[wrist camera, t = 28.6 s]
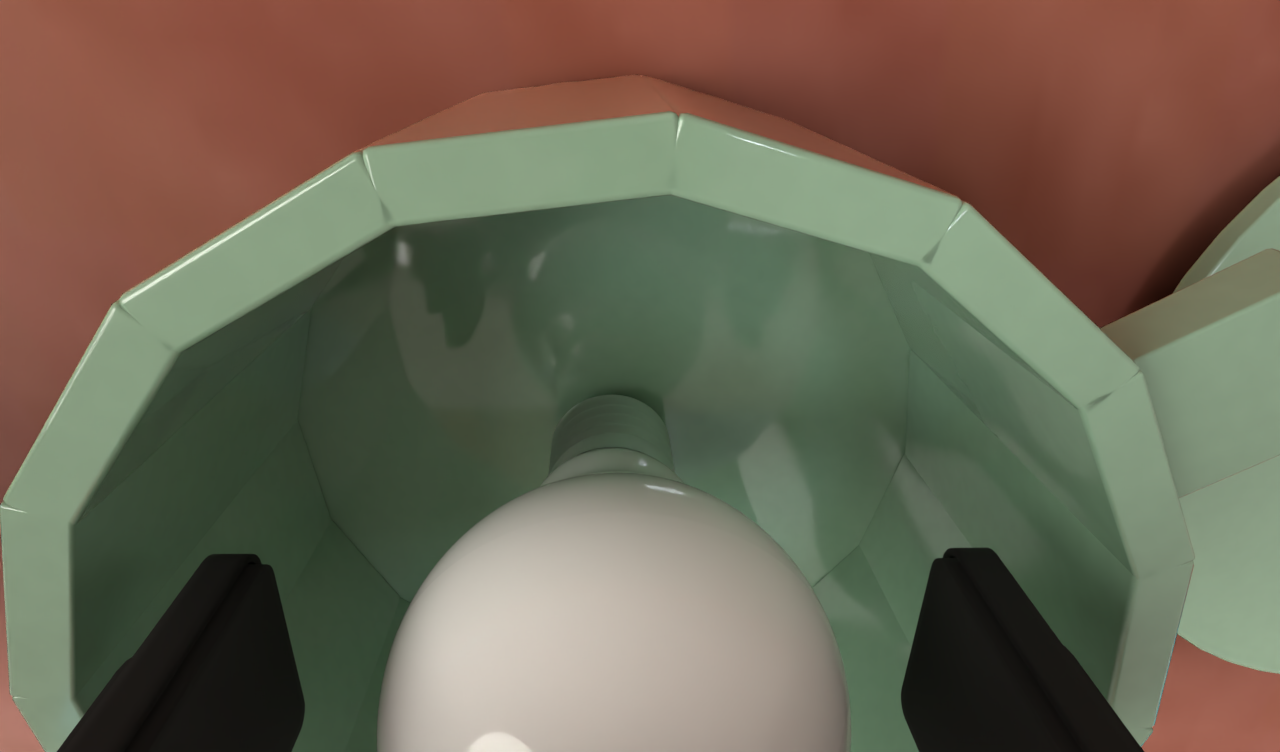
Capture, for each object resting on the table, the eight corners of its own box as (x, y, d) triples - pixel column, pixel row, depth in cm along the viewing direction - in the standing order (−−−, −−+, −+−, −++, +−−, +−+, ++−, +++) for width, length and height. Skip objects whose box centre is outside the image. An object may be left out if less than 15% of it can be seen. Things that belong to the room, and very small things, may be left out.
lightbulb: (795, 374, 17) (1061, 843, 7) (668, 576, 19) (737, 1149, 9) (540, 257, 16) (432, 636, 6) (434, 489, 18) (224, 1052, 8)
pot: (32, 366, 17) (-452, 645, 9) (904, -165, 13) (1313, -439, 6) (436, 775, 23) (350, 1154, 15) (1112, 477, 19) (1449, 768, 12)
